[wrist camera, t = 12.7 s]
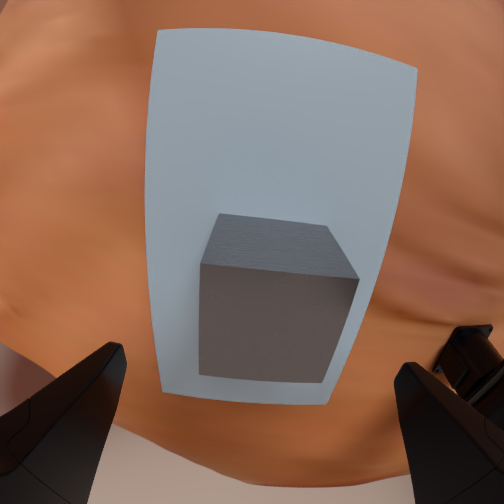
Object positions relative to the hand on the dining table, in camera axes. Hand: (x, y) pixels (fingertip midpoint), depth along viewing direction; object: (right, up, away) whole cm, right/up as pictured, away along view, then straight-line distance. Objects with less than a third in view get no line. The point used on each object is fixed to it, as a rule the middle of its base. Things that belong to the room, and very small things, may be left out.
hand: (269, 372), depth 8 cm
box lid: (0, +3, +7) cm, 8 cm away
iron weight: (0, +3, +6) cm, 7 cm away
